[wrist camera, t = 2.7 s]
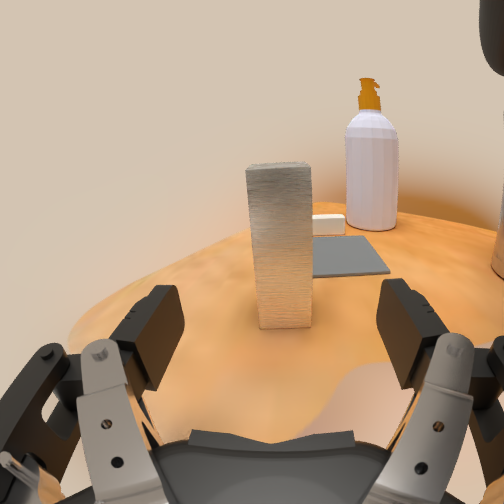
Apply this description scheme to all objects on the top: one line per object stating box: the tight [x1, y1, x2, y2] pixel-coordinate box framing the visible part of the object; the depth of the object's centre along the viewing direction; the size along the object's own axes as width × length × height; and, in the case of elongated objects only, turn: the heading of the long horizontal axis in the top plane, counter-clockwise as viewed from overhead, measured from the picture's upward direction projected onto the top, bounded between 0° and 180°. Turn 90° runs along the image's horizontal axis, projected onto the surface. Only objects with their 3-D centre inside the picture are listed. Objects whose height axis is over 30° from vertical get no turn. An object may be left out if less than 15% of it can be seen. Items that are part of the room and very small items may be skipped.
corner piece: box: [312, 214, 345, 236], centre depth 35 cm, size 10×12×2 cm
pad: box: [312, 236, 390, 278], centre depth 32 cm, size 9×11×1 cm
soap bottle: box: [345, 78, 398, 231], centre depth 38 cm, size 9×9×24 cm
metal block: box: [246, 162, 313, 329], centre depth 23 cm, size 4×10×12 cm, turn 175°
